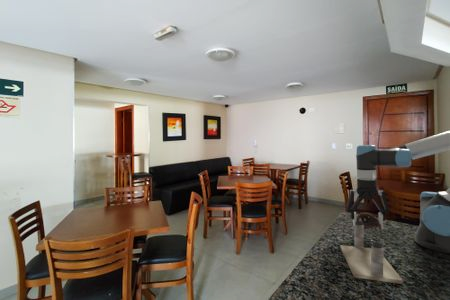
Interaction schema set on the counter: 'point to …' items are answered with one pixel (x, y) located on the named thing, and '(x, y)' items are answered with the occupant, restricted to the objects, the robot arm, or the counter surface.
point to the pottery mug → (368, 220)
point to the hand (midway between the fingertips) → (367, 226)
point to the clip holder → (368, 259)
